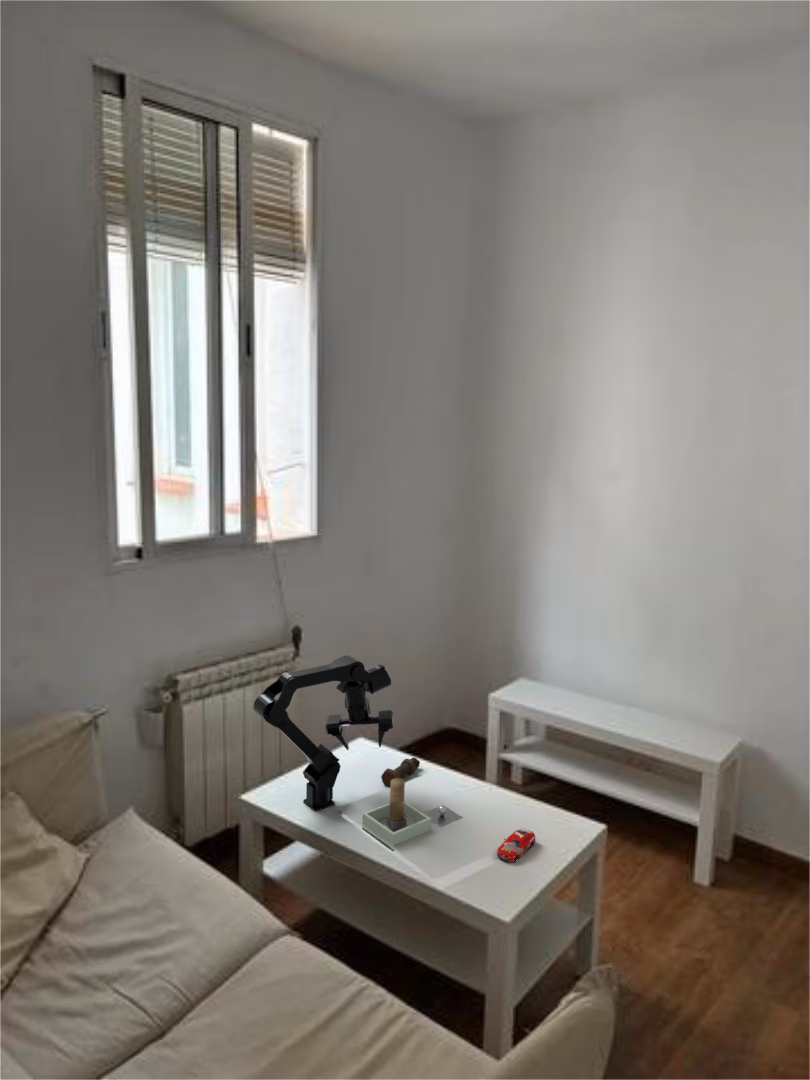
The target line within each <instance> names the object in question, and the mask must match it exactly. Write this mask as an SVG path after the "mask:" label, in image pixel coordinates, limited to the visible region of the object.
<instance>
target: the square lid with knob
mask: <svg viewBox="0 0 810 1080" xmlns="http://www.w3.org/2000/svg"><path fill="white" fill-rule="evenodd" d="M422 813H423V814H425V815H427V816H428V817H430V818H431V823H433V824H435V825H437V826H438V827H439V828H442V827H445V826H447V825H449V824H451V823H453V822H456V821H459V820H461V819H463V818H464V817H463V816H462V815H460V814H458V813H457V812H455V811H454V810H451V809H450V808H448V807H447V806H445V805H443V804H442V805H440V806H437V807H434V808H432V809H430V810H428V811H425V812H422Z"/></svg>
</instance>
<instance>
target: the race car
mask: <svg viewBox="0 0 810 1080" xmlns="http://www.w3.org/2000/svg"><path fill="white" fill-rule="evenodd" d="M503 840H504V842H503V843H501V844H500V846H499V847H498V848H497V851H496V854H497V855H496V856H497V857H498V858H499V859H500V860H502V861H504V862H510V863H512V862H513V863H516V862H517V861H518V860H519V859H520V858H521V857H523V855H525V854H526V853H527V852H528V851H529V850H530V849H532V848H533V847H534V845H535V844H536V834H535V832H534V831H533V830H530V829H526V828H519V829H517V830H515V831H514V832H513V833H511V834H510V835H509V836H508V837H507V838H503ZM532 846H533V847H532ZM531 847H532V848H531ZM526 851H527V852H526ZM524 853H525V854H524ZM517 859H518V860H517ZM516 860H517V861H516ZM515 861H516V862H515Z"/></svg>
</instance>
